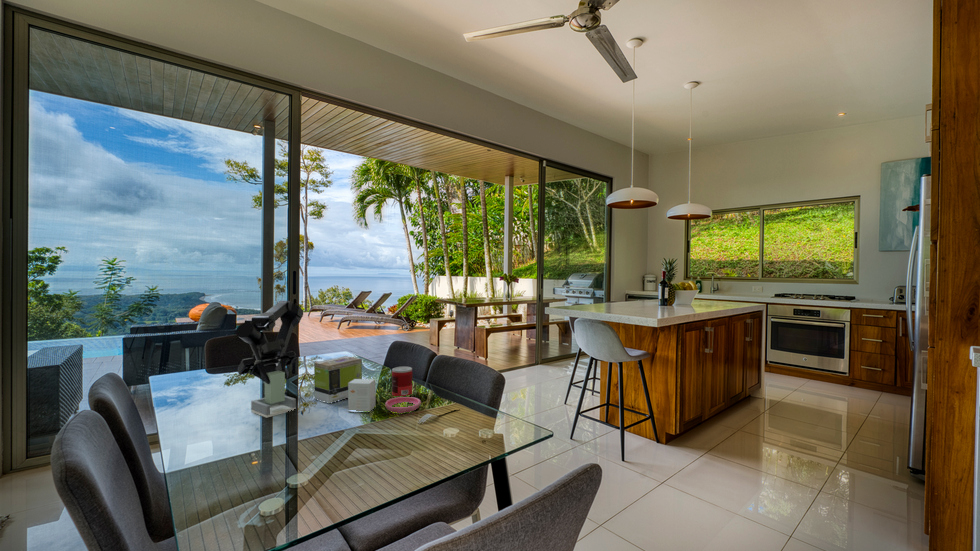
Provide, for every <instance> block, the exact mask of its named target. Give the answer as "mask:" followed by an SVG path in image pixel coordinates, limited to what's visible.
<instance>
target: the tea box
mask: <svg viewBox="0 0 980 551" xmlns="http://www.w3.org/2000/svg"><path fill="white" fill-rule="evenodd" d="M313 366H314V367H313V370H314V374H313V375H314V380H313V381H314V400H316V399H318V400H321V401H325V402H328V403H331V402H335V401H338V400H342V399H345V398H348V383H349V382H351V381H352V380H354V379H363V369H362V368H363V367H362V366H363V364H362V358H358V357H354V356H353V357H352V356H348V355H345V356H340V357H335V358H330V359H325V360H321V361H315V362H314V364H313ZM318 400H317V401H318ZM345 400H346V399H345ZM321 401H320V402H321ZM342 401H343V400H342ZM338 402H339V401H338ZM335 403H336V402H335ZM331 404H332V403H331Z"/></svg>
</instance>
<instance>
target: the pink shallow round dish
mask: <svg viewBox="0 0 980 551" xmlns="http://www.w3.org/2000/svg"><path fill="white" fill-rule="evenodd" d="M402 402H409V403H413V404H415V405H413V406H408V407H392V405H394V404H397V403H402ZM421 402H422V401H421V399H419V398H418V397H414V396H411V397H396V398H393V397H392V398H390V399H388V400H386V402H385V404H384V407H385V408H386V409H387V410H388V411H389V412H390V411H392V412H397V413H404V412H410V411H414V410H416V409H418V408H419V407H420V406H421Z"/></svg>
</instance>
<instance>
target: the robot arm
mask: <svg viewBox="0 0 980 551" xmlns="http://www.w3.org/2000/svg"><path fill="white" fill-rule="evenodd" d="M303 316H304V310H303V309H302V307H301V306H300V305H297V304H296V303H293V302H292V301H290V300H279V301H277V302H276V304H275V305H273V306H272V307H270V308H269V309H268V310H267V311H266V312H262V313H258V314H255V315H253V316H252V317H251V319H245V320H244V322H243V323H241V324H240V325H239V326H237V327H236V330H235V335H236V336H237V337H239V338H240V339H241V340H242V341H243V342H245V343H247V344H249V345H250V348H251V351H252V354H251V356H252V357H248V358H243V359H241V361H240V363H239V365H238V367H237V374H238V376H241V375H246V374H249V375H253V376H254V377H256V378H258V379H260V380H261V381H262V382H264V385H263V386H264V387H263V388H264V389H263V391H264V392H263V393H262V395H264V396H265V382H266V383H267V384H270V380H269V377H268V375H267V373H269V372H274V371H282V372H285V380H286V379H288V378H289V375H290V373H289V370H288V368H287V366H291V365H292V364H293V363H294V361H295V360H296V358H297V354H296V352H295V351H293V350H292V351H290V350H289V351H287V349H288V346H289V342H290V339H291V336H292V332H293V331H294V328H295V327H296V326H297V325H298V324H300V322H301V320H302V318H303ZM278 319H280V322H281V324H280V325H281V326H280V328H279V331H278V333H277V337H276V339H275V340H274V341H268V339H267V336H266V334H265V333H264V332H271V331H272V330H273V329H274V328H275V326H276V321H278ZM285 394H288V391H286V390H285Z"/></svg>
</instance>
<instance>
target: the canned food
mask: <svg viewBox="0 0 980 551" xmlns="http://www.w3.org/2000/svg"><path fill="white" fill-rule="evenodd" d="M410 394H412V395H413V367H410V366H396V367H394V368H392V369H391V396H392V395H393V396H406V395H410ZM393 396H392V397H393Z"/></svg>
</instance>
